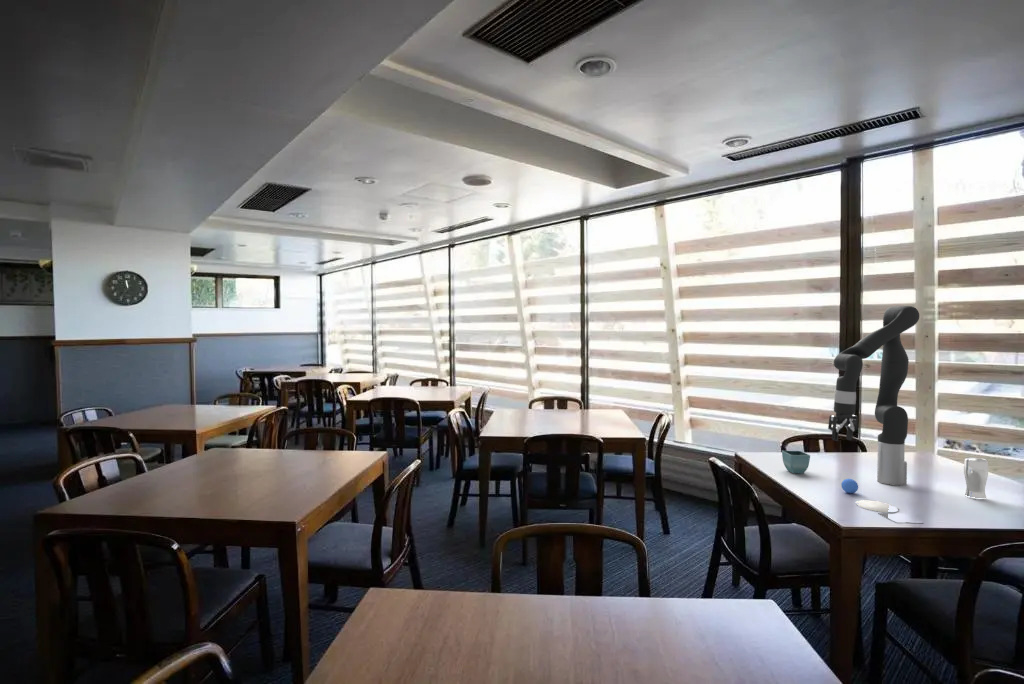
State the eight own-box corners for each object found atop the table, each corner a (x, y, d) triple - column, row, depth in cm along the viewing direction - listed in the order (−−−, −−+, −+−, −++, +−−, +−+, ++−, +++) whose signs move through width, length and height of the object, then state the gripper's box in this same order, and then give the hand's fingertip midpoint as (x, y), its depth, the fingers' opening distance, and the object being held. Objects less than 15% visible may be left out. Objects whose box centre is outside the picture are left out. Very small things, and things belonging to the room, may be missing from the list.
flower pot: (810, 475, 228) (810, 455, 228) (790, 474, 228) (791, 455, 228) (800, 469, 237) (800, 450, 237) (781, 469, 237) (781, 450, 237)
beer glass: (984, 501, 192) (985, 462, 191) (960, 496, 197) (961, 458, 197) (990, 498, 195) (990, 459, 195) (966, 493, 201) (967, 456, 201)
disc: (882, 500, 193) (882, 500, 193) (907, 513, 180) (907, 512, 180) (847, 500, 193) (847, 500, 193) (870, 512, 180) (870, 512, 180)
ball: (852, 490, 205) (852, 477, 205) (861, 495, 200) (861, 481, 199) (838, 490, 205) (838, 476, 205) (846, 495, 200) (846, 480, 200)
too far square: (904, 514, 179) (904, 513, 179) (923, 523, 170) (923, 522, 170) (877, 513, 179) (877, 513, 179) (896, 523, 170) (896, 522, 170)
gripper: (841, 403, 206) (838, 442, 207) (865, 403, 211) (862, 441, 212) (824, 400, 213) (821, 438, 214) (848, 400, 218) (845, 437, 219)
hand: (842, 440), depth 213 cm, fingers open, 8 cm apart
